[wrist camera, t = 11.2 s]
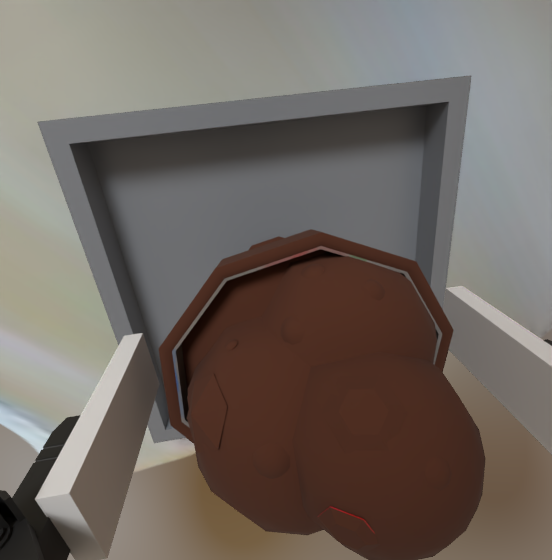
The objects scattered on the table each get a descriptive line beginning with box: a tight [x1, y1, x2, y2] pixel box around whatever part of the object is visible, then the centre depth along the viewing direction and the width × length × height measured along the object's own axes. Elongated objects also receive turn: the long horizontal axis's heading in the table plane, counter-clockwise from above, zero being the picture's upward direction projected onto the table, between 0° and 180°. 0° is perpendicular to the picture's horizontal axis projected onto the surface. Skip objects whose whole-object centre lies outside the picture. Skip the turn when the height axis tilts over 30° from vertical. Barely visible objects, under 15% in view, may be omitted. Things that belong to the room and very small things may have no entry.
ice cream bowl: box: [159, 229, 485, 560], centre depth 14 cm, size 11×11×15 cm
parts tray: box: [38, 76, 471, 443], centre depth 20 cm, size 20×20×3 cm
